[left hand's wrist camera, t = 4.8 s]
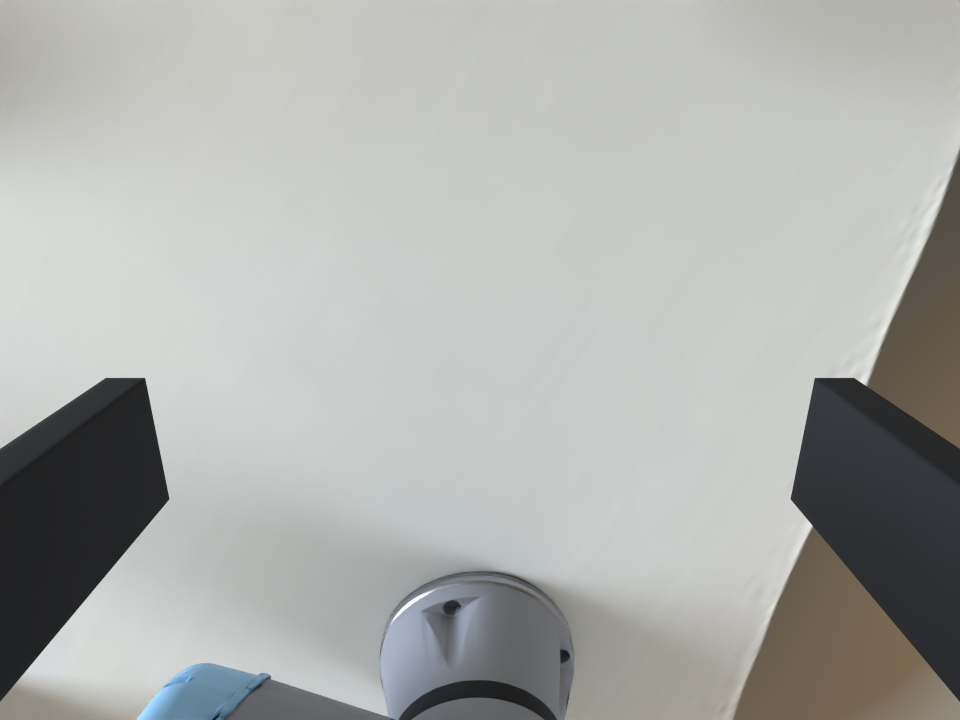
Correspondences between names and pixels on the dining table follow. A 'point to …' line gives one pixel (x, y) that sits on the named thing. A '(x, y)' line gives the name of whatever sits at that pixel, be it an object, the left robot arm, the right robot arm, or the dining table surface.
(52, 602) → the left robot arm
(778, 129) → the dining table surface
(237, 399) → the dining table surface
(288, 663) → the dining table surface
